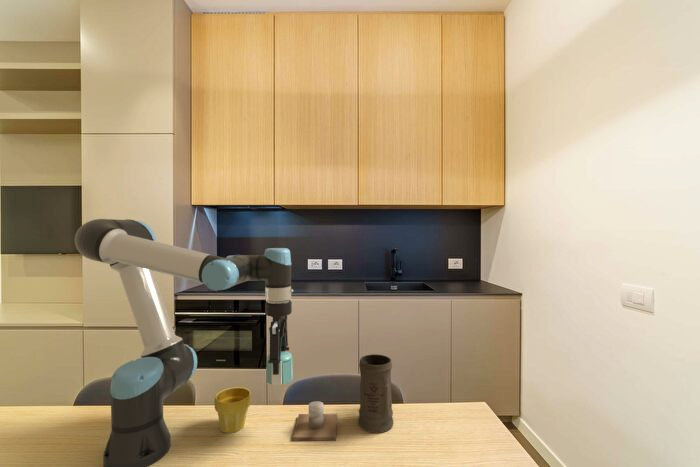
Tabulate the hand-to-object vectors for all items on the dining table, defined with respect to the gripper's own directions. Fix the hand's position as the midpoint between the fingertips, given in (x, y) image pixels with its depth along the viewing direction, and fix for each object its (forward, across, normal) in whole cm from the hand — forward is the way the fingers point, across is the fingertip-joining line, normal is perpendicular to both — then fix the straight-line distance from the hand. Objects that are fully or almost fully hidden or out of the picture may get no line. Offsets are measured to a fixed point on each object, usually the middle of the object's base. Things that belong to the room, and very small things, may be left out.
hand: (279, 378), depth 100 cm
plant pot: (+15, +2, +14) cm, 21 cm away
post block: (+15, +1, -10) cm, 19 cm away
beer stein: (+16, +6, -28) cm, 33 cm away
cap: (0, 0, 0) cm, 0 cm away
